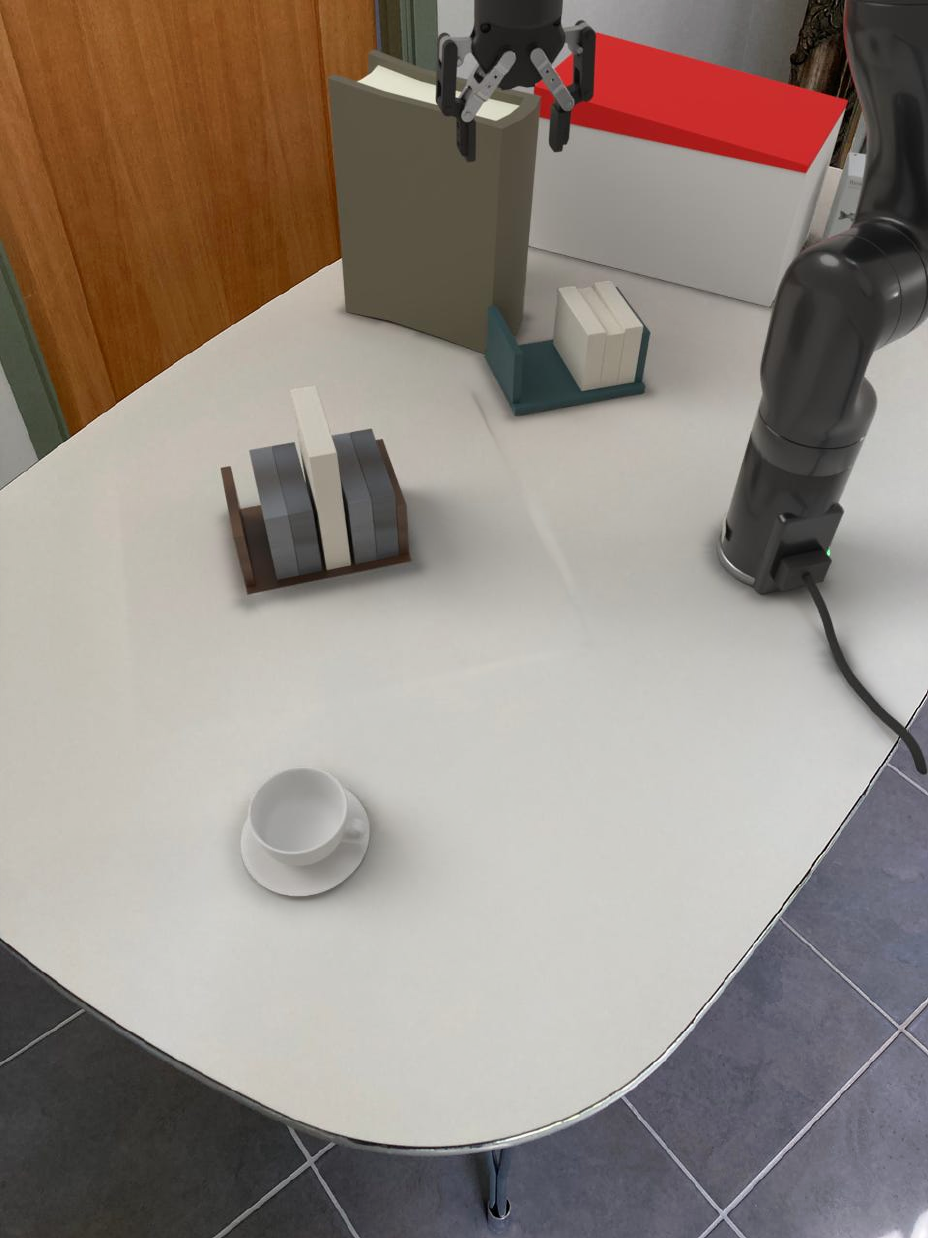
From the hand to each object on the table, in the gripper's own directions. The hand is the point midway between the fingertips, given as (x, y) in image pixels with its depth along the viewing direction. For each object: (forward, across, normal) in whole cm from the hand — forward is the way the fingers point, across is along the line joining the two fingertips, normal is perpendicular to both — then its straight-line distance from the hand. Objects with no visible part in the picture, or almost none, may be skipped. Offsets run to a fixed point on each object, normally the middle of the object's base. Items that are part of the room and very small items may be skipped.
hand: (512, 153), depth 90 cm
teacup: (+28, -31, -50) cm, 65 cm away
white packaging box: (+28, +55, +18) cm, 64 cm away
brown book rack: (+28, -24, -18) cm, 41 cm away
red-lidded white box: (+28, +32, +29) cm, 52 cm away
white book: (+27, -24, -18) cm, 40 cm away
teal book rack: (+28, +8, +2) cm, 29 cm away
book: (+28, -3, +18) cm, 33 cm away
